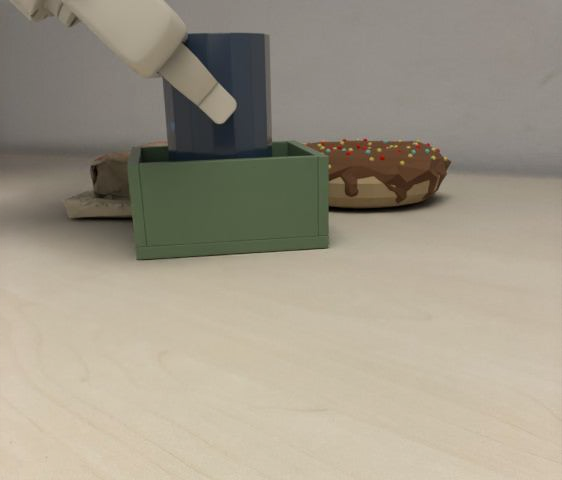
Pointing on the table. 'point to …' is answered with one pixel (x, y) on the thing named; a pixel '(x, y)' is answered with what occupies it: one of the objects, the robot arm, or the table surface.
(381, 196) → the donut
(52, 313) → the table surface
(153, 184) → the tub
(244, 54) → the cup
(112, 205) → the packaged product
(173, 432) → the table surface
